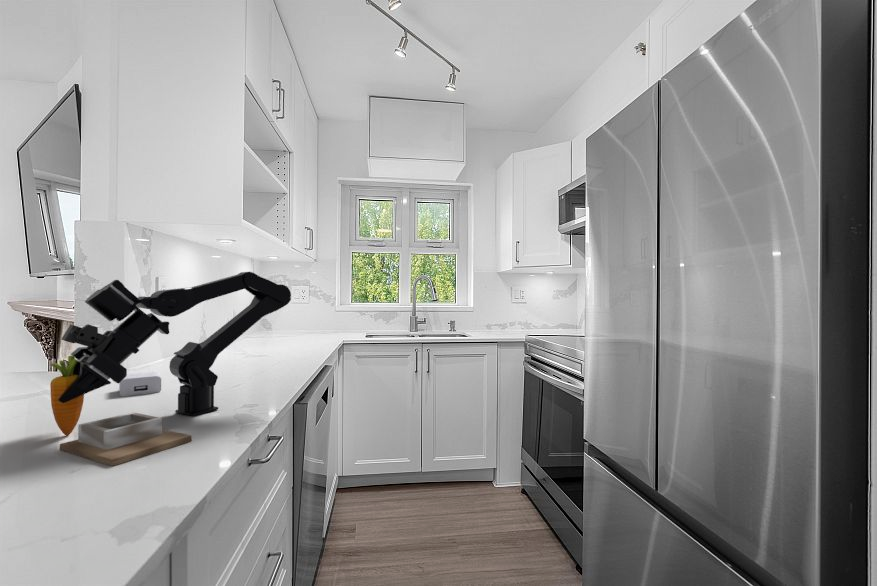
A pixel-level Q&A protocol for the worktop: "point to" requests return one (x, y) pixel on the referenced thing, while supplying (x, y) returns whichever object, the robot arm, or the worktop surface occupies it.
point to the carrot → (69, 410)
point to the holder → (123, 438)
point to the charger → (140, 384)
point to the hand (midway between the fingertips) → (58, 399)
